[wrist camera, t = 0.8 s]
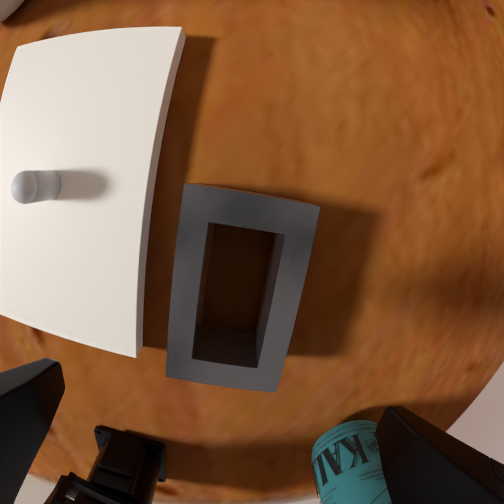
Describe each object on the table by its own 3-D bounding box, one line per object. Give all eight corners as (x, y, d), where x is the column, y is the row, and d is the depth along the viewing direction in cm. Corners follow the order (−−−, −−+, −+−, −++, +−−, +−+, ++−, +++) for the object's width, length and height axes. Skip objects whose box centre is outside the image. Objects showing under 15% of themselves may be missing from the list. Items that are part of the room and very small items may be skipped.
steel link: (270, 354, 19) (275, 392, 15) (179, 341, 19) (165, 376, 15) (303, 200, 17) (320, 206, 13) (197, 183, 17) (184, 183, 13)
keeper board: (142, 346, 19) (118, 389, 14) (4, 304, 18) (-33, 328, 13) (186, 37, 14) (169, -4, 10) (27, 52, 14) (-10, 33, 9)
